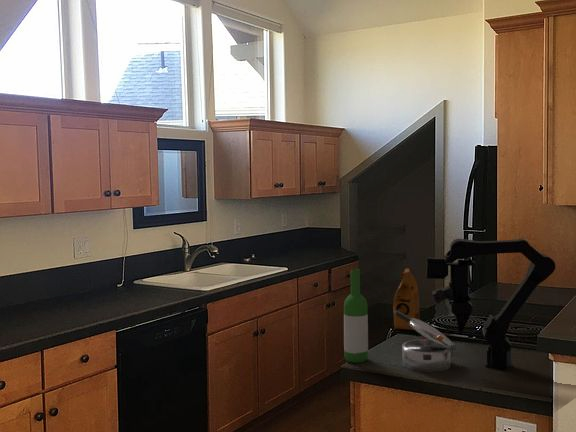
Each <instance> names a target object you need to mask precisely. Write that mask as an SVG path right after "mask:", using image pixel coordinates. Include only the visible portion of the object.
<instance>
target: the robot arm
mask: <svg viewBox="0 0 576 432" xmlns="http://www.w3.org/2000/svg"><path fill="white" fill-rule="evenodd" d="M515 253H516V254H517V253H519V254H522V255H523V256H524V257H525V258H526V259H527V260H529V261H530V264H529V266H528V268H527V271H526V274H525V276H524V278H523V280H522V281H521V282H520V283H519V285H518V287H516V289H515V291H514V292H513V294H512V295H511V296H510V297H509V299H508V300H507V301H506V303H505V304H504V306H503V307H502V308H501V310H500V312H498V313H497V314H496V315H494V316H493V315H492V314H490V315H489V314H488V315H489V316H488V317H487V319H486V321H484V322H483V323H482V326H483V328H482V335H483V337H484V339H485V341H486V343H488V346H487V350H486V364H485V367H486V368H490V369H495V370H498V371H507V370H509V369H511V368H512V367H514V364H513V363H512V344H511V342H510V340H509V338H508V337H507V336H506V335H507V333H508V331H509V328H510V325H511V322H512V321H513V319H514V318H515V317H516V315H517V314H518V313H519V311H520V310H521V308H522V307H523V306H524V304H525V303H526V302H527V300H528V299H529V298H530V296H531V295H532V293H533V292H534V290H536V288H537V287H538V285H540V284H541V283H543V282H545V280H547V279H548V278H549V277H550V276H551V275H552V274H554V271H555V270H556V263H555V261H554V260H553V259H552V258H551V257H550V256H549V255H547V254H545V253H540V252H539V251H537V249H535V248H534V247H533V246H532V245H531V244H530V243H529V242H528V241H527V240H526V239H524V238H518V239H507V240H505V239H504V240H486V241H485V240H484V241H483V240H482V241H478V240H473V239H465V238H455V239H453V240H452V242H451V243H450V244H449V250H448V251H447V252H446V254H445V255H444V256H443V257H427V258H426V268H425V269H426V271H425V272H426V274H425V275H426V280H445V279H446V278H447V277H449V273H450V278H449V279H450V281H449V282H448V286H444V287H441V288H438V289H435V290H432V291H431V294H432V297H433V300H434V303H435V304H439V303H441V302H444V301H446V300H448V303H449V306H450V312H451V314H453V315H454V316H455V321H456V325H457V327H458V332H459V333H462V332H463V331H464V330H465V327H466V325H467V322H468V321H469V319H470V316H471V314H472V313H473V310H474V309H473V304H472V302H471V301H470V300H471V297H470V288H471V284H470V267H475V266H476V265H477V264H476V262H475V261H473V260H472V258H473V257H477V256H480V255H496V254H515ZM449 270H450V271H449Z"/></svg>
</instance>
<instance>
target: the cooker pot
mask: <svg viewBox="0 0 576 432" xmlns="http://www.w3.org/2000/svg"><path fill="white" fill-rule="evenodd" d="M401 351H402V352H401V353H402V354H401V356H402V357H401V358H402V359H401V361H402V364H403V365H402V366H403V367H404V366H405V367H404V368H406V367H407V369H408V368H409V369H408V370H411V371H414V370H415V372H420V371H423V372H422V373H437V371H439V372H443V371H446V369H447V370H448V369H450V368H451V347H450V348H445V347H442V346H439V345H437V344H435V343H433V342H431V341H430V340H428V339H422V338H421V339H412V340H408V341H407V340H406V341H405V342H402V344H401ZM416 370H417V371H416ZM433 371H435V372H433Z"/></svg>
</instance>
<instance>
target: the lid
mask: <svg viewBox="0 0 576 432" xmlns="http://www.w3.org/2000/svg"><path fill="white" fill-rule="evenodd" d="M395 315H396V316H398V317H400V318H401V319H403V320H405V321H406V322H408V323H409V325H410V326H411V327H412V328H413V329H414V330H413V331H415V332H417V333H418V334H419V335H420V336H421V337H422V336H423V337H425V338H426V339H428V340H430V341H431V342H433V343H435V344H437V345H439V346H442V347H445V348H450V349H451V350H452V351H455V350H456V349H457V348H456V345H455V342H454V341H451V339H449V338H448V337H447V336H446V335H445V334H443V332H441V331H439V330H438V329H437V328H435V327H434V326H432V325H430V324H428V323H426V322H425V321H423V320H421V319H419V320H418V319H415V318H410V317H408V316H406V315H405V314H403V313H401V312H399V311H398V310H397V311H396V312H395Z"/></svg>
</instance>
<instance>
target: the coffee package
mask: <svg viewBox="0 0 576 432" xmlns="http://www.w3.org/2000/svg"><path fill="white" fill-rule="evenodd" d="M399 276H400V277H402V280H401V282H400V284H399V285H398V288H397V290H396V292H395V294H394V298H393V326H394V328H395V329H396V330H397V329H398V330H399V329H401V330H407V331H415V330H414V329H413V328H412V327H411V326H410V325H409V323H408V322H406V321H405V320H403V319H401V318H400V317H398V316H396V315H395V312H396V311H397V310H398V311H399V312H401V313H403V314H405V315H406V316H408V317H410V318H415V319H418V320H420V297H419V289H418V288H419V287H418V283H417V281H416V278H415V277H414V275H413V274H412V272H411V271H410V268H408V267H407V268H405V269H404V271H403V272H401V273H400V274H399Z"/></svg>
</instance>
